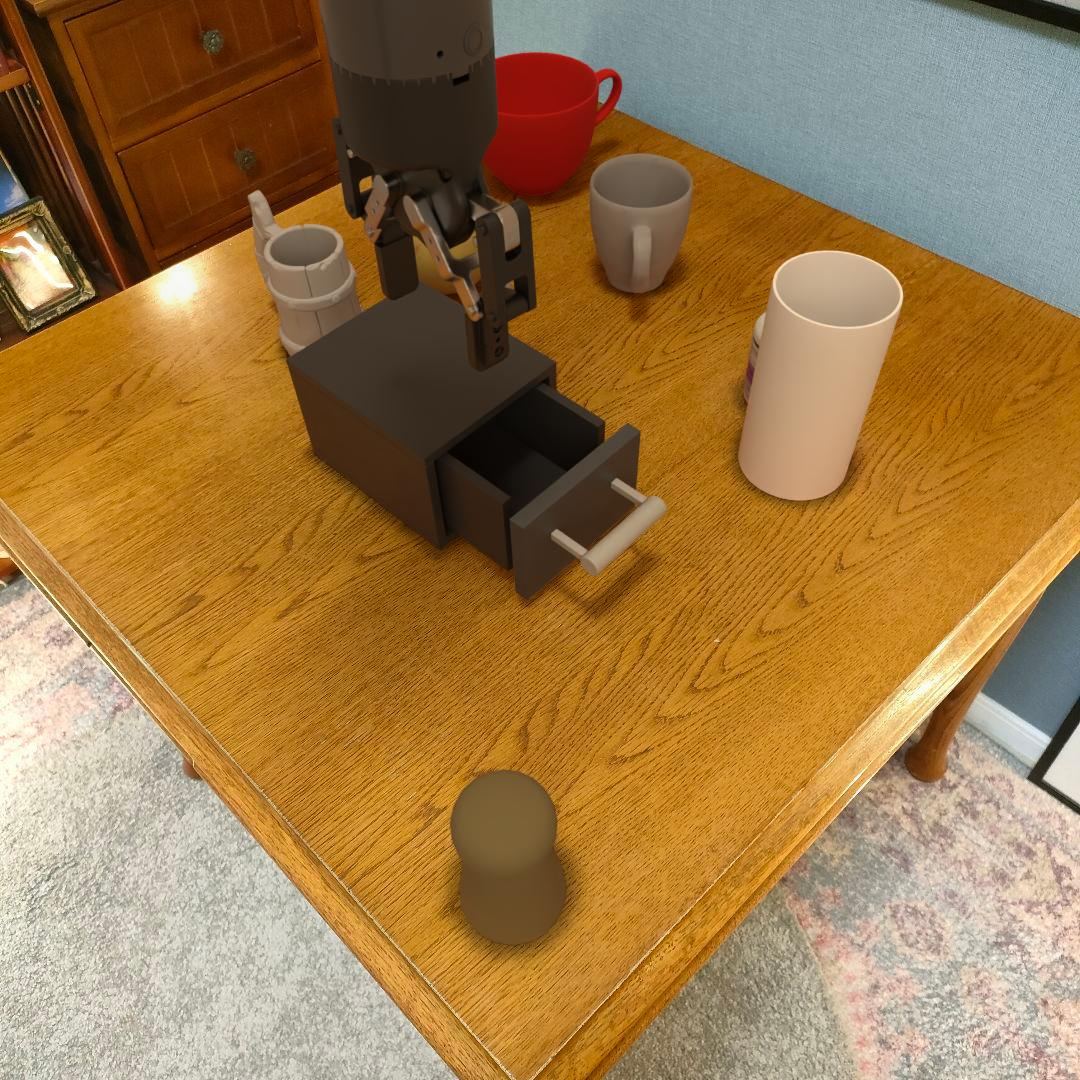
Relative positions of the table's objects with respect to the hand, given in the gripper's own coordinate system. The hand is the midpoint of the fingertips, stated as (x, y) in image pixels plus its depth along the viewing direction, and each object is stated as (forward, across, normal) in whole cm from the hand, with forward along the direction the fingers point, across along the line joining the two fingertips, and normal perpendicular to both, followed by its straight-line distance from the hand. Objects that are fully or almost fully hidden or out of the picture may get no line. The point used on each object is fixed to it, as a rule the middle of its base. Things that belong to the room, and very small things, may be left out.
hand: (443, 327), depth 55 cm
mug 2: (+18, -13, +30) cm, 37 cm away
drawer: (+18, +3, +4) cm, 18 cm away
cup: (+18, +11, +23) cm, 32 cm away
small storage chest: (+19, -8, +3) cm, 20 cm away
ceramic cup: (+18, -33, +36) cm, 52 cm away
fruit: (+18, -26, +17) cm, 36 cm away
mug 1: (+19, -27, +4) cm, 33 cm away
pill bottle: (+18, +5, +28) cm, 34 cm away
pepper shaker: (+19, +22, -14) cm, 32 cm away
